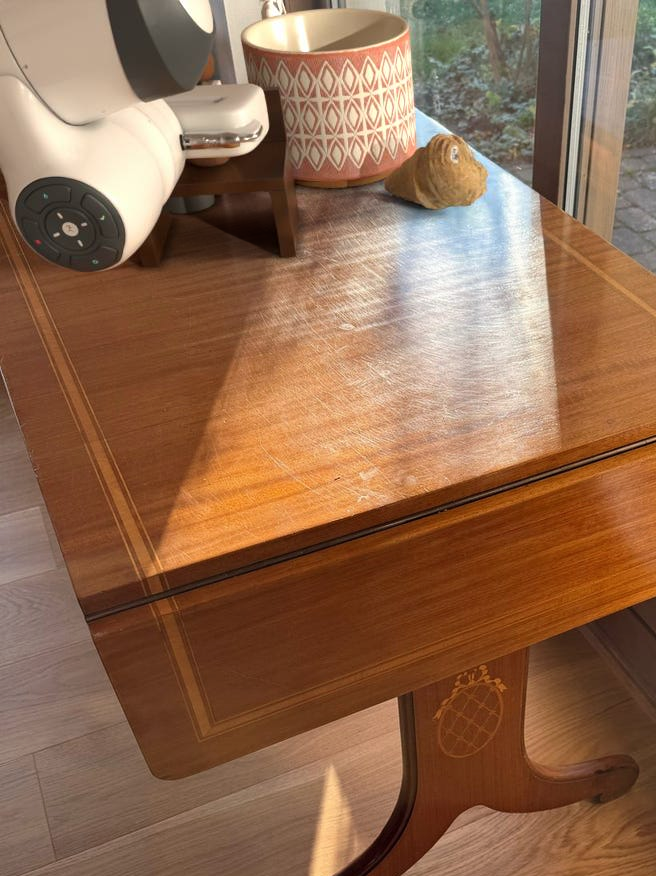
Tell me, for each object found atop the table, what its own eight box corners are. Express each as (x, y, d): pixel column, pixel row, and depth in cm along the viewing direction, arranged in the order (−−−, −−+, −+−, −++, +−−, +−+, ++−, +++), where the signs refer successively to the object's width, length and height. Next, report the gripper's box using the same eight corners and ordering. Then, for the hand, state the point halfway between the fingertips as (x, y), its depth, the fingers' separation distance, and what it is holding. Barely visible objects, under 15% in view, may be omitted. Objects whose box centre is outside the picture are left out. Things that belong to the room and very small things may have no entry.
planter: (321, 208, 113) (302, 63, 102) (234, 165, 123) (208, 30, 113) (449, 164, 121) (443, 27, 111) (358, 128, 132) (344, -1, 121)
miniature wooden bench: (142, 267, 103) (106, 134, 93) (157, 221, 111) (124, 95, 102) (296, 256, 104) (275, 123, 94) (298, 212, 112) (279, 86, 103)
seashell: (400, 233, 118) (363, 222, 111) (392, 162, 116) (354, 145, 109) (503, 207, 111) (471, 193, 104) (495, 131, 110) (462, 111, 103)
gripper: (249, 97, 74) (272, 47, 84) (-20, 107, 74) (34, 56, 84) (264, 183, 79) (284, 126, 89) (11, 192, 79) (59, 134, 89)
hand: (161, 92), depth 86 cm, fingers open, 8 cm apart
